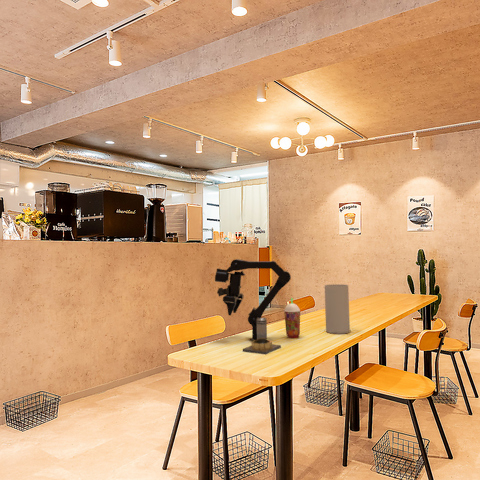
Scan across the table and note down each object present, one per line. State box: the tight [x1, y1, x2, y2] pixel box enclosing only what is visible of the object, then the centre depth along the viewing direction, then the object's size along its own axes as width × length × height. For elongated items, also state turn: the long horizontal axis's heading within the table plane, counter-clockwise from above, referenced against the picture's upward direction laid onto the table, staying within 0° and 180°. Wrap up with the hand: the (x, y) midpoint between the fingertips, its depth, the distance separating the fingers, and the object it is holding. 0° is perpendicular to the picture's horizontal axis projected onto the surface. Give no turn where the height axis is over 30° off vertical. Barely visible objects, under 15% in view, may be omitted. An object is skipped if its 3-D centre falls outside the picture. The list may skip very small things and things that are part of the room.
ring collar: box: [242, 339, 282, 355], centre depth 186 cm, size 14×12×4 cm
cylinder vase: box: [324, 284, 351, 335], centre depth 220 cm, size 12×12×25 cm
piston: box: [257, 317, 268, 343], centre depth 186 cm, size 5×5×13 cm
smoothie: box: [283, 297, 301, 339], centre depth 210 cm, size 8×8×20 cm
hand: (232, 314), depth 208 cm, fingers open, 9 cm apart
